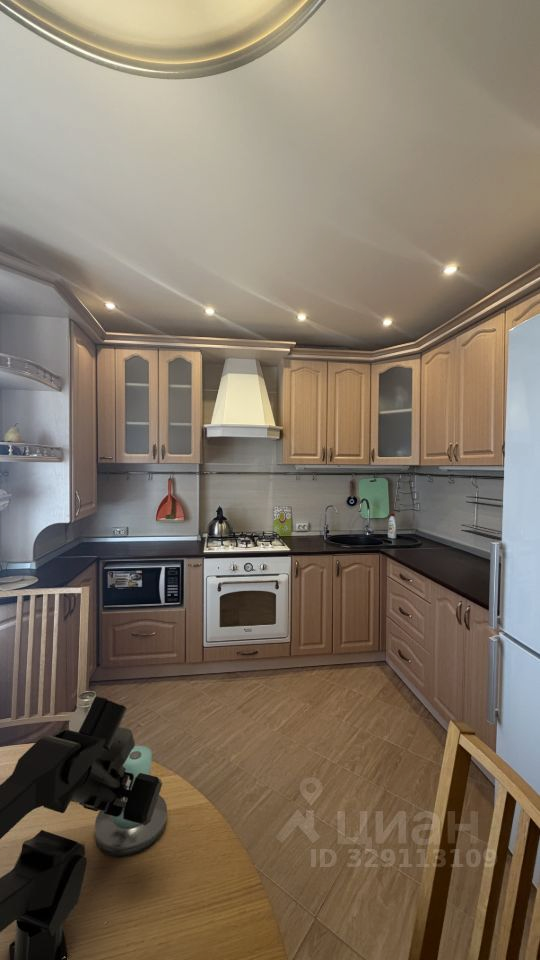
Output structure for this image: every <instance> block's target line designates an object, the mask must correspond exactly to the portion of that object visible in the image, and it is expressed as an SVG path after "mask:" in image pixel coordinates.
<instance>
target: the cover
mask: <svg viewBox="0 0 540 960" xmlns="http://www.w3.org/2000/svg"><path fill="white" fill-rule="evenodd" d="M152 755H153V754H152V750H151V749H150V748H149V747H148V746H145V745H135V746H134V748H133V749H132V750H131V752H130V754H129V756H128V758H127V760H126V761H125V763H124V764H123V767H124V768H126V770H125V772H128V773H132V774H133V775H134V781H135V778H136V777H137V776H138V774H139V773H143V774H147V775H151V771H152V770H151V769H152ZM151 776H152V775H151ZM134 781H133V784H134ZM133 784H132V786H133ZM131 789H132V787H131ZM131 789H130V790H131ZM127 800H128V798H127ZM127 800H126V801H127ZM123 815H124V809H123V811H122V814H121V815H120V816H118V817H115V816H113V822H114V824H115V825H116V826H117V827H119V828H122V829H133V828H136V827H138V826H140V825H142V824H138V823H135V822H131V821H128V820H125V819H123Z"/></svg>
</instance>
